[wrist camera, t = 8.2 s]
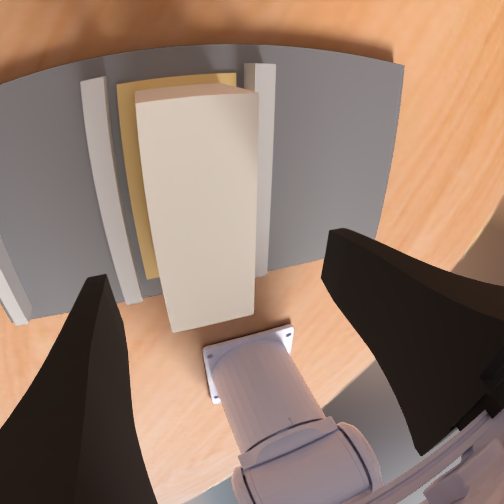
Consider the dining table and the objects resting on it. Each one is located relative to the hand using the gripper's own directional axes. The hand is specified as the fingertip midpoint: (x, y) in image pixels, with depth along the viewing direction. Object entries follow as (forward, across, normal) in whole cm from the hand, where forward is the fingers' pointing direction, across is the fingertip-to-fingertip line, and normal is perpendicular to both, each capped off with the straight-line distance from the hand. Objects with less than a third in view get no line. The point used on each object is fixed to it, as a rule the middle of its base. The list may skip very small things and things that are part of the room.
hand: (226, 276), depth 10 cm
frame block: (+8, 0, 0) cm, 8 cm away
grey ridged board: (+9, 0, 0) cm, 9 cm away
